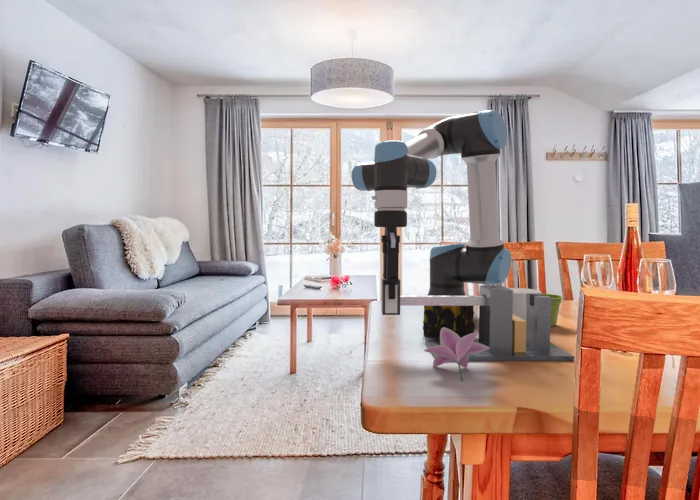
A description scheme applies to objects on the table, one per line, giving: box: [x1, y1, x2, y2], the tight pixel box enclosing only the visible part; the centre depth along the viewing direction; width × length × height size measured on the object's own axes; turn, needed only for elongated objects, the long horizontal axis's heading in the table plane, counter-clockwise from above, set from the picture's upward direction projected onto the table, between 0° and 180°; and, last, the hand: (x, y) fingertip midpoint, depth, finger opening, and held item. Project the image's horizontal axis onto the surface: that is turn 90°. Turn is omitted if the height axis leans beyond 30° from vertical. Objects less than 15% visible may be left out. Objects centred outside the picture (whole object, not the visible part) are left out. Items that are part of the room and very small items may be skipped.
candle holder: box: [507, 287, 543, 321], centre depth 115 cm, size 10×10×12 cm
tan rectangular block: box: [512, 314, 526, 352], centre depth 99 cm, size 8×2×7 cm, turn 179°
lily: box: [423, 327, 490, 382], centre depth 83 cm, size 12×12×10 cm
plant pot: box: [542, 293, 564, 327], centre depth 127 cm, size 9×9×9 cm
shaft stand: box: [424, 284, 575, 362], centre depth 99 cm, size 14×30×15 cm, turn 90°
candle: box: [422, 295, 476, 339], centre depth 113 cm, size 10×10×10 cm
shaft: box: [380, 277, 487, 316], centre depth 98 cm, size 4×26×8 cm, turn 90°
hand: (390, 310), depth 99 cm, fingers closed on shaft, 4 cm apart
